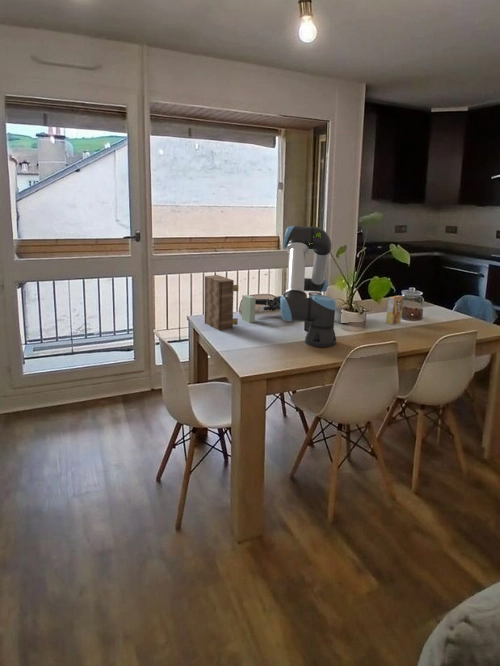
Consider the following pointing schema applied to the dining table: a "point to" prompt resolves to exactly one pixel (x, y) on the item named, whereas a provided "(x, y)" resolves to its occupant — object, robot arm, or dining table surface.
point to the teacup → (338, 314)
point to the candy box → (394, 309)
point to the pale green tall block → (248, 308)
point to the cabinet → (219, 302)
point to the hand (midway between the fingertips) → (251, 306)
